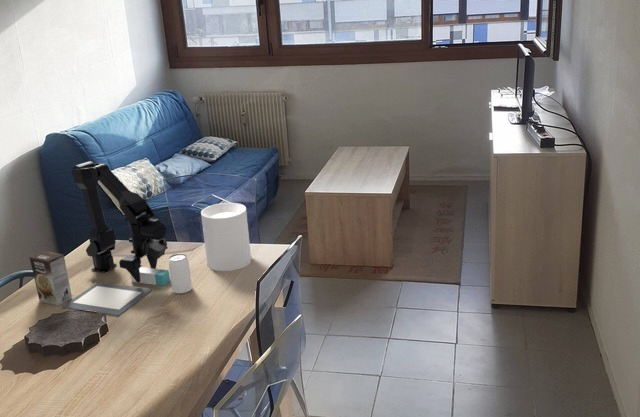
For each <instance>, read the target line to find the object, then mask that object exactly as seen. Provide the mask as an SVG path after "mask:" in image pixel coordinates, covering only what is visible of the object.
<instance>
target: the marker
mask: <svg viewBox="0 0 640 417" xmlns="http://www.w3.org/2000/svg"><path fill="white" fill-rule="evenodd" d="M139 271H140V282H136V280H135V279H134V278H133V276H132V275H131V274H130V273H129V274H130V279H131V282H132V283H140V284H145V285H146V284H148V285H154V286H163V287H164V286H165V285H166V284H168V283H169V282H171V277H170V270H169V269H160V268H156V269H154V268H151V267H144V266H141V267H140V269H139Z"/></svg>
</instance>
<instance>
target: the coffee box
mask: <svg viewBox="0 0 640 417" xmlns="http://www.w3.org/2000/svg"><path fill="white" fill-rule="evenodd" d="M29 261H30V265H31V271H32V274H33V275H32V276H33V278H34V284H35V288H36V291H37V292H36V293H37V297H38V301H39V302H42V303H44V304H45V303H46V304H49V305H52V306H56V307H59V306H61V305H63V304H65V303H67V302H69V301H71V300H72V299H73V294H72V292H71V286H70V281H69V275H68V271H67V264H66V259H65V254H62V253H59V252H54V251H49V250H43V251H41V252H38V253H35V254H33V255H31V256H29Z"/></svg>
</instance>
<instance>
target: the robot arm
mask: <svg viewBox="0 0 640 417" xmlns="http://www.w3.org/2000/svg"><path fill="white" fill-rule="evenodd" d="M71 175H72V178H73V180H74V184H75V185H77V187H79V188H80V190H81V191H82V195H83V200H84V203H85V207H86V211H87V214H88V218H89V222H90V226H91V229H90V233H89V236H88V238H89V244H88V246H87V248H86V249H85V253H86V255H87V257H91V258H92V263H93V268H91V271H94V272H101V273H102V272H103V273H107V272H109V271H110V270H111V269H113V268H114V267H117V263H115V262H114V257H113V255H112V251H113V250H115V249H116V242H117V237H116V235H115V230H114V229H113V228H110V227H109V226H107V223H106V218H105V216H104V211H103V207H102V204H101V199H100V195H99V191H98V182H100V183H101V184H102V185H103V186H104V188H106V189H107V191H108V192H109V193H111V194H112V196H113V197H114V198H115V199H116V200H117V202H118V203H119V209H120V210H121V211H122V213H123V214H124V216H125V217H126V218H124V219H123V220H124V222H125V223H128V227H129V233H130V238H128V242H129V243H131V245H132V249H131V250H130V254H134V255H125V256H124V257H122V258H121V259H120V260H119V261H118V264H119V268H120V269H125V270H127V271H128V273H129V274H131V275H132V276H133V278H134V279H135V280H136V282H135V283H138V282H140V271H139V269H140V267H143V266H142V261H141V259H143V258H144V257H145V256H146V259H147V260H148V263H149V266H150V268H154V269H157V265H158V264H157V263H158V259H160V258H161V257H162V256H164V255H165V252H166V250H168V242H167V239H165V237H166V234H167V227H166V226H165V224H164V223H163V222H161V221H160V219H158V218H155V217H156V215H155V213H154V210H153V209H151V207H150V206H149V203H148V202H147V201H146V199H145V198H144V197H142V196H141V195H140V194H139V193H135V192H133V191H131V190H130V189H129V188H128V187H126V185H125V183H123V182H122V181H121V180H120V179H119V178H118V177H117V176H116V175H115V173H113V172H112V170H111V169H110V166H109V165H108V164H106V163H101V162H96V163H95V162H93V161H90V160H88V161H87V162H83V163H79V164H76V165H74V166H73V167H72V169H71ZM131 275H130V276H131Z"/></svg>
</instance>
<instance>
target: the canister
mask: <svg viewBox="0 0 640 417" xmlns="http://www.w3.org/2000/svg"><path fill="white" fill-rule="evenodd" d="M247 214H248V213H247V207H246V206H245V205H244V204H241V203H237V202H223V203H222V202H221V203H216V204H212V205H209V206H207V207H204V208H203V209H202V210H201V211H200V216H201V225H202V232H203V239H204V248H205V255H206V256H205V257H206V264H207V267H208V268H209V269H210V270H213V271H216V272H231V271H232V272H233V271H238V270H240V269H243V268H245V267H247V266H249V264H250V263H251V262H252V253H251V244H250V235H249V224H248V215H247Z"/></svg>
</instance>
